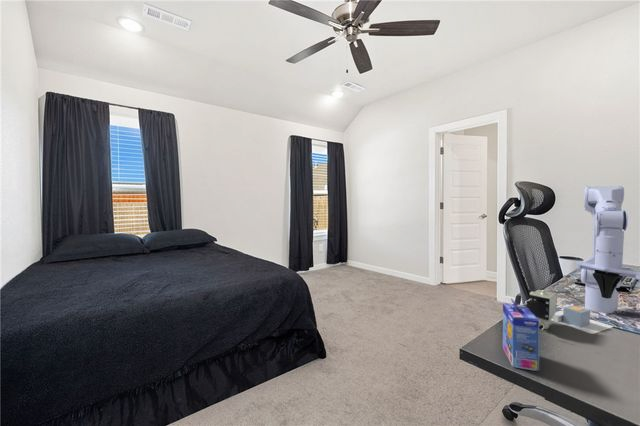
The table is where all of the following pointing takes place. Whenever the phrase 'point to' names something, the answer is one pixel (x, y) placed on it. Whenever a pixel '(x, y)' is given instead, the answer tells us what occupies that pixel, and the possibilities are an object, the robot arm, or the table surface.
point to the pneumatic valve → (543, 306)
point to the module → (576, 316)
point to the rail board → (591, 328)
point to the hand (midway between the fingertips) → (606, 297)
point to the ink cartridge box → (521, 336)
